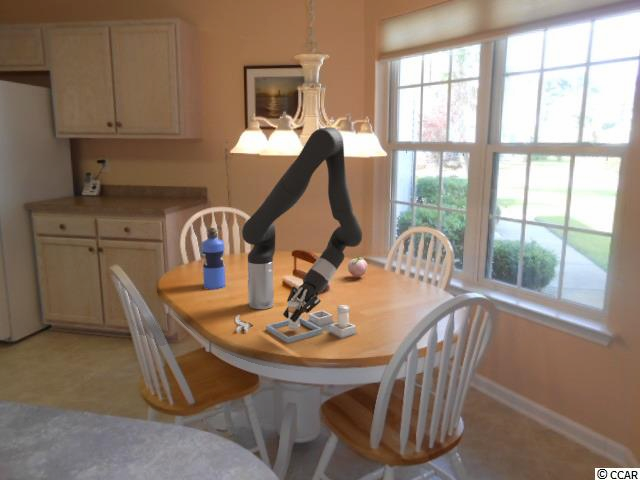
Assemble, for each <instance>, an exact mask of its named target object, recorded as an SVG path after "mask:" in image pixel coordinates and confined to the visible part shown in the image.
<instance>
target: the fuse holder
mask: <svg viewBox="0 0 640 480" xmlns="http://www.w3.org/2000/svg"><path fill="white" fill-rule="evenodd" d="M333 316H334V315H333V314H331V313H329V312H327V311H325V310H318V311H314V312H311V313H310V312H309V313H308V319H306V320H307V321H309V322H311V323H313V324H314V325H316V326H318V327H320V328H322V329H323V331H325V332H327V333H329V334H331V335H332V336H335V337H336V338H338V339H340V340H343V339H346V338H349V337H352V336H356V335H358V334H359V333H358V332H357V326H356V325H355V324H352V323H350V322H349V327H348V328H344V329H341V328H339V327H338V322H335V321H334V317H333Z"/></svg>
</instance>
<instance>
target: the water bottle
mask: <svg viewBox="0 0 640 480" xmlns="http://www.w3.org/2000/svg"><path fill="white" fill-rule="evenodd" d="M206 235H207V239H206V240H204V241H201V243H200V244H201V253H202V258H203V262H202V263H203V265H202V275H203V276H202V277H203V288H204V287H205V288H204V289H206V288H207V290H219V288H221V289H224V288H225V287H226V265H225V261H224V254H225V241H224V240H222V239H219V238H218V230H217V229H216V228H215V227H210V228H209V229H208V230H207V234H206ZM223 287H224V288H223Z"/></svg>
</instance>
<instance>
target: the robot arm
mask: <svg viewBox="0 0 640 480" xmlns="http://www.w3.org/2000/svg"><path fill="white" fill-rule="evenodd" d="M324 161H325V163H326V167H327V173H328V174H327V176H328V178H327V180H328V181H327V183H328V184H327V186H328V187H327V196H328V201H329V205H330V211H331V215H332V217H333V219H334V220H335V221H337V222H338V223H339V226H337V228H336V229H334V230H333V232H332V234H331V236H330V238H329V240H328V243H327V245H326V247H325V249H324V251H323V252H322V253H321V255H319V257H318V259H317V260H316V261H315V262H314V263H313V264H312V265H311V267H310V269H309V270H308V271H307V273H306V274H305V275H304V276H303V278H302V281H303V282H302V284H301V285H300V286H299V287H296V286H295V285H293V286H292V288H291V290H290V293H289V295H288V297H287V298H286V299H287V300H286V302H287V303H288V301H290V300H298V301H300V304H299V306H298V308H297V309H296V310H295V311H294V313H293V314H292V316H291V317H290V319H291V320H292V321H293V322H296V321H297V320H298V318H299V317H301V316H302V314H305V313H306V314H309V313H310V312H311V311H312V310H313V309H314V308H315V307H317V306H318V305H319V304H320V303H321V301H322V300H321V299H320V297H318V296H319V294H321V293H323V291H324V290H325V288H326V287H327V286H328V284H329V283H330V282H331V281H332V278H333V277H334V276H335V274H336V272H337V270H338V268H339V267H340V266H341V264H342V263H343V261H344V260H345V254H344V251H345V249H346V248H347V247H348V248H355V247H357V246H359V245H360V244H361V242H362V239H363V232H362V228H361V225H360V223H359V220H358V217H357V216H356V215H355V211H354V210H353V209H354V208H353V204H352V199H351V195H350V191H349V185H348V184H349V183H348V180H347V179H348V178H347V172H346V171H347V170H346V162H345V147H344V138H343V135H342V133H341V131H339V130H338V128H336V127H331V126H330V127H329V126H328V127H323V128H322V127H321V128H318V129H316V130H315V131H313V132H312V133H311V135H309V138H308V139H307V141H306V142H305V144H304V145H303V148H302V149H301V151H300V152H299V154H298V156H297V158H296V159H295V160H294V161H293V163H292V164H291V165H290V166H289V167H288V169H287V170H286V171H285V172H284V174H283V175H282V176H281V177H280V179H279V180H278V182H277V183H276V184H275V186H274V187H273V189H272V190H271V191H270V193H269V195H267V197H266V198H265V200H264V201H263V202H262V204H261V205H260V207H258V209H257V210H256V211H255V212H254V213H253V214H252V215H251V216H250V217H249V219H247V220H246V221H245V223H244V224H243V226H242V231H241V232H242V233H241V234H242V239H243V240H244V242H245V243H247V244H248V245H253V247H252V249H251V250H250V251H249V252H248V254H247V277H248V279H247V297H248V307H249V308H250V309H254V310H267V309H270V308H273V307H274V305H275V300H274V294H275V293H274V255H275V252H276V227H275V224H274V222H275V221H276V220H277V219H279V218H280V217H281V216H282V215H284V214H285V213H286V212H288V211H289V210H290V209H292V207H293V206H295V205H296V204H297V203H298V202H299V200H300V199H301V198H302V197H303V195H304V193H305V192H306V190H307V189H308V187H309V184H310V182H311V179H312V176H313V174H314V173H315V171H316V170H317V169H318V168H319V167H320V166H321V165H322V163H323V162H324ZM282 315H283V317H285V318H286V319H289V312H288V306H287V307H286V309H285V310H284V312H283V314H282Z"/></svg>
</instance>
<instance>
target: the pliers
mask: <svg viewBox="0 0 640 480" xmlns="http://www.w3.org/2000/svg"><path fill="white" fill-rule="evenodd" d="M240 316H241V315H240V314H237V315H236V316H235V318H234V322H235V324H236V325H237V328H236V329H235V333H236V334H239V333H240V332H241V331H243V330H244V334H247V333H248V330H249V328H251V327H253V326H254V325H253V324H252V323H251V322H248V323H246V322H245V321H244V320H241V319H240Z"/></svg>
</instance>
